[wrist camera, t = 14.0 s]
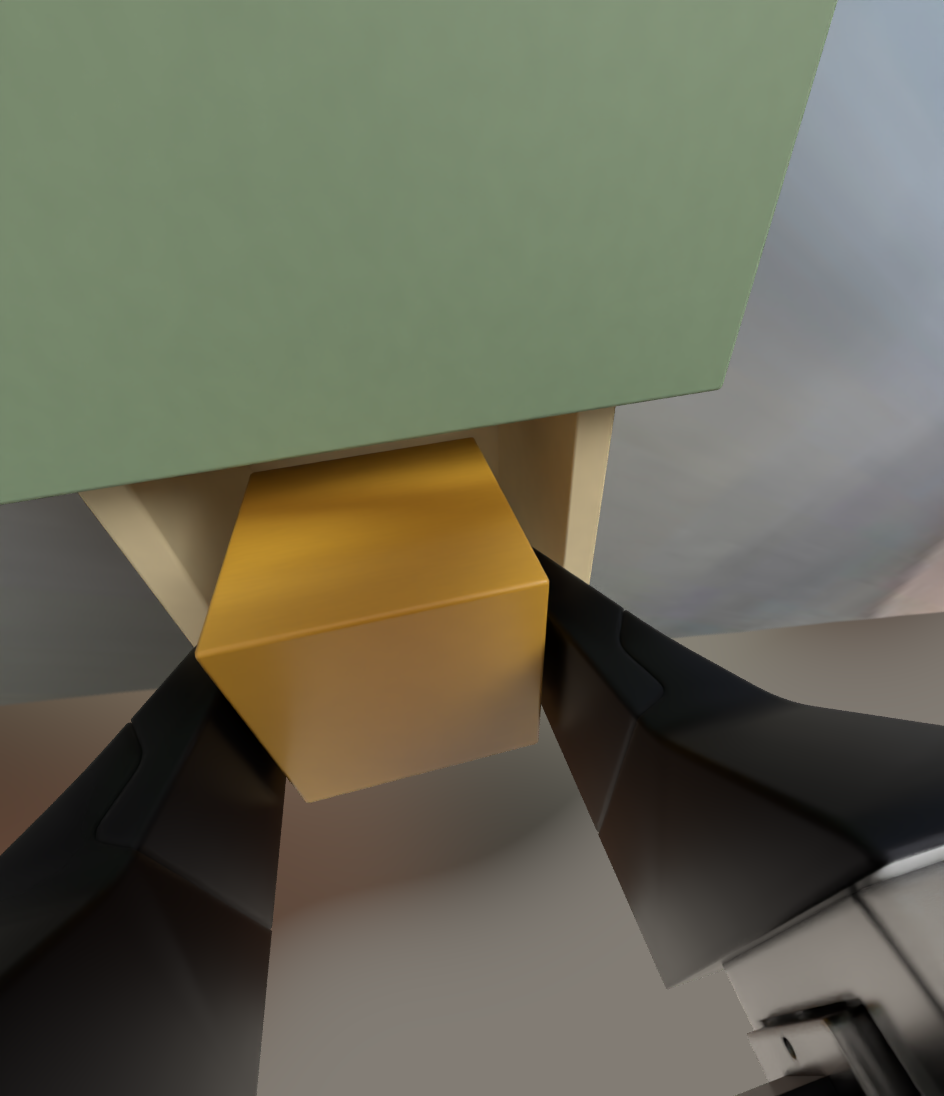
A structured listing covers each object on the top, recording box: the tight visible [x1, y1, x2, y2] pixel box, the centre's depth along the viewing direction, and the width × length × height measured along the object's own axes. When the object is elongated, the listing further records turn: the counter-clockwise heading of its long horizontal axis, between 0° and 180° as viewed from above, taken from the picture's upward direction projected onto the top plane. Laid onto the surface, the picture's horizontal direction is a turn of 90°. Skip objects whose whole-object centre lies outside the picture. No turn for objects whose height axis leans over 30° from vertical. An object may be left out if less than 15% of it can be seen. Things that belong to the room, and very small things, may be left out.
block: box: [195, 437, 549, 803], centre depth 8 cm, size 4×4×4 cm
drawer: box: [78, 406, 616, 647], centre depth 13 cm, size 17×11×7 cm, turn 4°
